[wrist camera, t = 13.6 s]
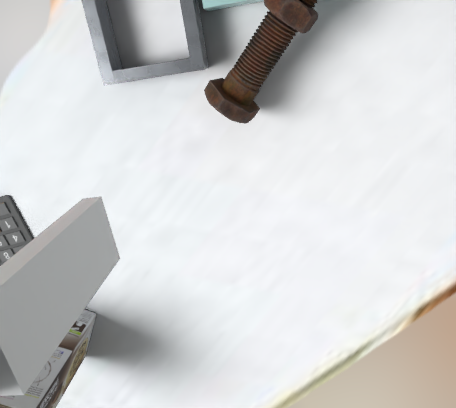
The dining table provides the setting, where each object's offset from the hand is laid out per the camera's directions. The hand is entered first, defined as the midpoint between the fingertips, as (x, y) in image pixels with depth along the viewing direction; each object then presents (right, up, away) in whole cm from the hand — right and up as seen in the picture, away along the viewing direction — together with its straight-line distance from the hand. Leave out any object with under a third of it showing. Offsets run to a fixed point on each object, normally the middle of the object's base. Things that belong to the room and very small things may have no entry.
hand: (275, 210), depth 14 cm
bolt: (+6, +20, +16) cm, 26 cm away
